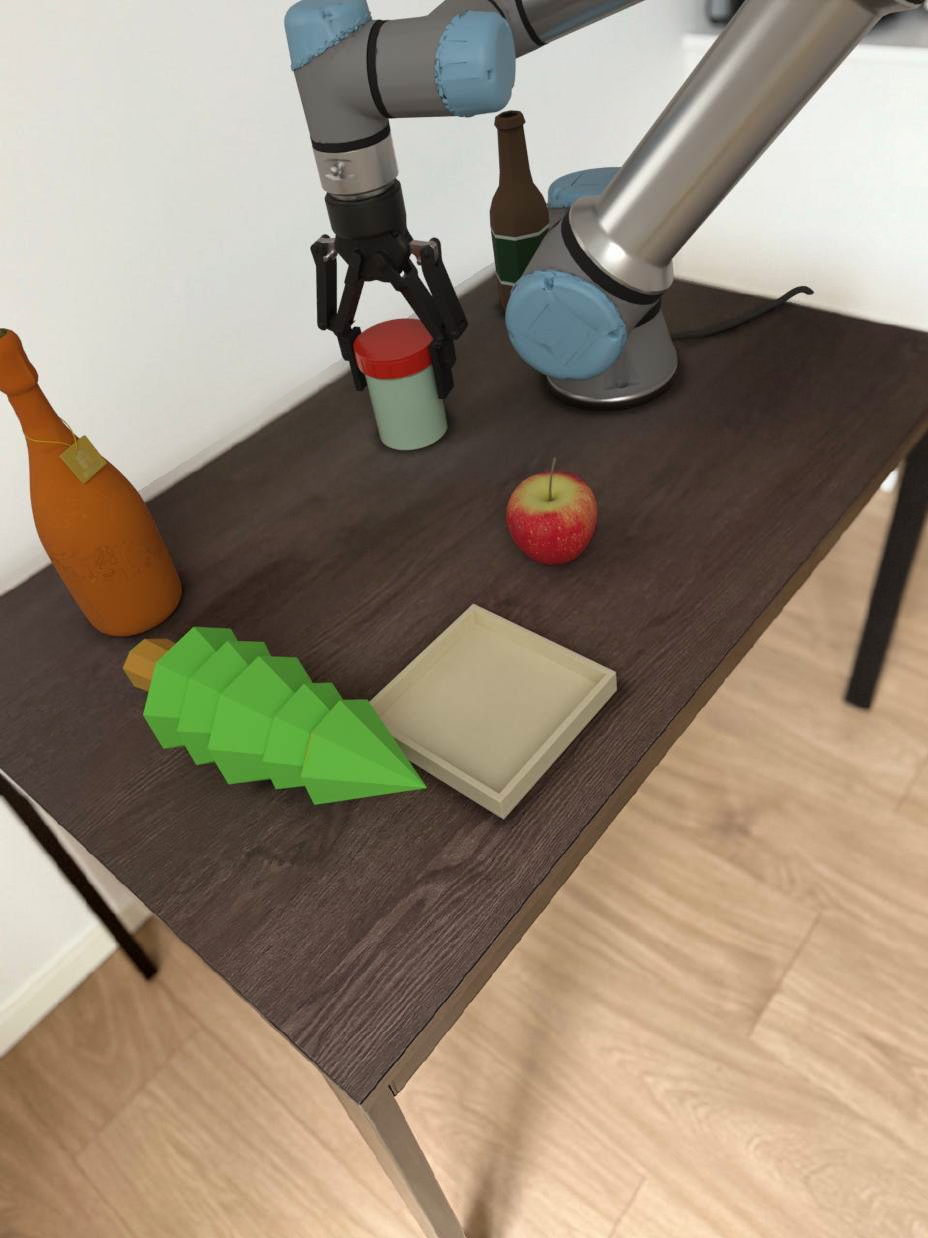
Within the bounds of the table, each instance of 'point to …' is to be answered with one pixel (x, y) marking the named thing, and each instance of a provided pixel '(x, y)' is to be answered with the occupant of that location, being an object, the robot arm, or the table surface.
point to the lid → (393, 349)
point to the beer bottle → (515, 206)
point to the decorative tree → (265, 718)
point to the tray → (491, 707)
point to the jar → (408, 410)
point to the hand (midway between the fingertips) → (404, 388)
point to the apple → (552, 516)
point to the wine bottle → (88, 513)
